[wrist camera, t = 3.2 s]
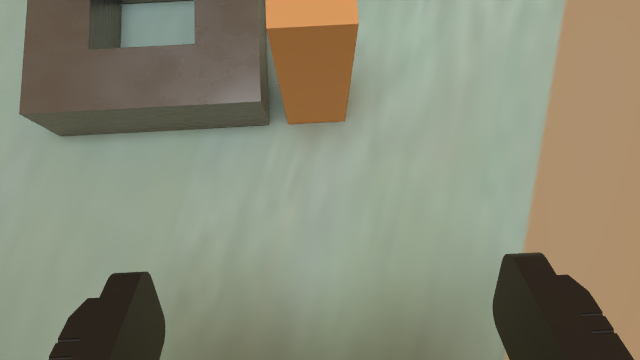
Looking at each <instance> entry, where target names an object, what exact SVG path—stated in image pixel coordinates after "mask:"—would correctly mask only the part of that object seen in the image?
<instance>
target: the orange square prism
mask: <svg viewBox="0 0 640 360" xmlns="http://www.w3.org/2000/svg"><path fill="white" fill-rule="evenodd" d="M265 2H266V29H267V33H268V38H269V42H270V47H271V51H272V55H273V60H274V64H275V69H276V73H277V77H278V82H279V86H280V91H281V95H282V99H283V104H284V108H285V113H286V117H287V121H288V124H300V123H319V122H338V121H345V117H346V110H347V102H348V95H349V88H350V81H351V74H352V67H353V60H354V53H355V46H356V39H357V31H358V24H359V22H358V9H357V0H265Z"/></svg>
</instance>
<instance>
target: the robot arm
mask: <svg viewBox="0 0 640 360" xmlns="http://www.w3.org/2000/svg"><path fill="white" fill-rule="evenodd" d="M493 316H494V321H495V325H496V328H497V331H498V333H499V335H500V338H501V340H502V343H503V345H504V347H505V350H506V352H507V355H508V357H509V359H510V360H634V359H633V357H632V356H631V355H630V353H629V351H628V350H627V348H626V347H625V345H624V344H623V342H622V341H621V339H620V338H619V336H618V335H617V334H616V333H614V331H613V330H614V329H613V327H612V326H611V324H610V323H609V321H608V320H607V318H606V317H605V316H603V315H602V311H601V309H600V308H599V306H598V305H597V303H596V302H595V300H594V299H593V297H592V296H591V294H590V293H589V291H587V290H586V289H585V288H584V287H582V286H581V285H580V284H579V283H577V282H576V281H575V280H574V279H572V278H571V277H570V276H569V275H556V273H555V272H554V270H553V268H552V267H551V265H550V263H549V262H548V260H547V259H546V257H545V256H544V255H543V254H542V253H519V254H506V255H505V256H504V257H503V260H502V263H501V268H500V272H499V277H498V281H497V285H496V290H495V294H494V298H493ZM164 339H165V319H164V315H163V312H162V309H161V305H160V302H159V299H158V296H157V293H156V290H155V287H154V284H153V281H152V278H151V275H150V274H149V273H148V272H129V273H113V274H112V275H110V277H109V278H108V280H107V282H106V285H105V287H104V289H103V291H102V293H101V295H100V298H88V299H87V300H86V301H85V302H84V303H83V304H82V305H81V306H80V307H79V308H78V309H77V310H76V311H75V312H74V313H73V314H72V315H71V316H70V317H69V318H68V320H67V322H66V324H65V326H64V328H63V330H62V332H61V334H60V336H59V338H58V343H56V344H55V346H54V348H53V350H52V352H51V354H50V355H49V360H159V359H160V355H161V352H162V348H163V344H164Z"/></svg>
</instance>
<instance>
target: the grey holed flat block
mask: <svg viewBox="0 0 640 360" xmlns="http://www.w3.org/2000/svg"><path fill="white" fill-rule="evenodd" d="M167 1H186V0H28V1H27V15H26V29H25V43H24V57H23V70H22V84H21V98H20V112H19V114H20V115H22V116H24V117H26V118H28V119H29V120H31V121H33V122H35V123H37V124H39V125H41V126H42V127H44V128H46V129H48V130H50V131H52V132H54V133H55V134H57V135H59V136H72V135H90V134H109V133H128V132H147V131H166V130H185V129H203V128H222V127H241V126H260V125H269V106H268V77H267V47H266V18H265V0H195V44H187V45H167V46H148V47H129V48H120V30H121V4H128V3H147V2H167Z"/></svg>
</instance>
